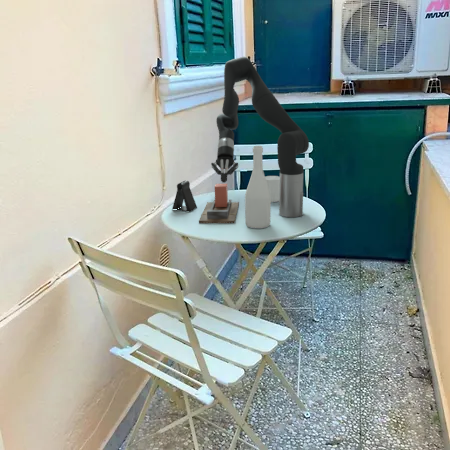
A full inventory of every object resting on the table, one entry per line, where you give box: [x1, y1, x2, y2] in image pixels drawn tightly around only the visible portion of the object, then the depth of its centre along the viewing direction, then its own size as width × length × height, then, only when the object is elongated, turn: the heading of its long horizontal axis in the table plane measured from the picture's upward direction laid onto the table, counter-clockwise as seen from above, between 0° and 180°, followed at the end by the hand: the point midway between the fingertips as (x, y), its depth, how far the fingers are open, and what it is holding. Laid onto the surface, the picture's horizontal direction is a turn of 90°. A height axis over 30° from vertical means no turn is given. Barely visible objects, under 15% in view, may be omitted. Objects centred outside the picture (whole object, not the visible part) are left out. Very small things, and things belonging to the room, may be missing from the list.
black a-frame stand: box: [172, 180, 198, 213], centre depth 189 cm, size 9×6×12 cm, turn 67°
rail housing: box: [198, 199, 240, 224], centre depth 183 cm, size 14×26×4 cm, turn 175°
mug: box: [265, 175, 280, 203], centre depth 200 cm, size 12×8×10 cm
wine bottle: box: [244, 145, 272, 230], centre depth 164 cm, size 10×10×30 cm
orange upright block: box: [214, 183, 229, 207], centre depth 189 cm, size 5×5×9 cm
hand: (223, 181), depth 198 cm, fingers closed
